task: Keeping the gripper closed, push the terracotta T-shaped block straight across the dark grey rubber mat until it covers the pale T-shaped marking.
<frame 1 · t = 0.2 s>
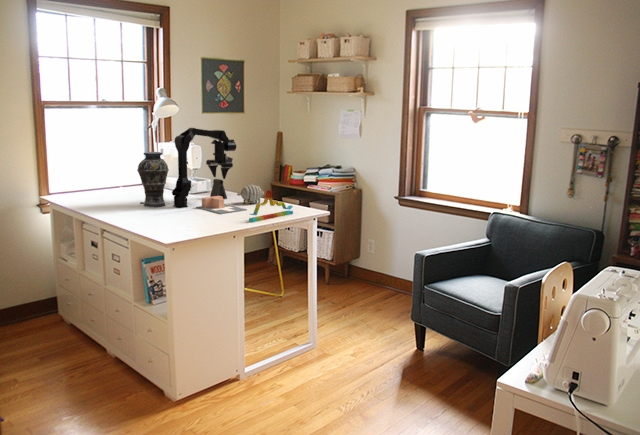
hand: (219, 178, 355), 14 cm above the table, tool pointing down, fingers open, 9 cm apart
t block: (216, 206, 339), resting on mat
mat: (221, 208, 336), on the table
multicoloured triangular frame: (271, 218, 317), on the table
toy sheep: (250, 203, 355), on the table
vase: (154, 205, 342), on the table
phone stand: (218, 199, 367), on the table
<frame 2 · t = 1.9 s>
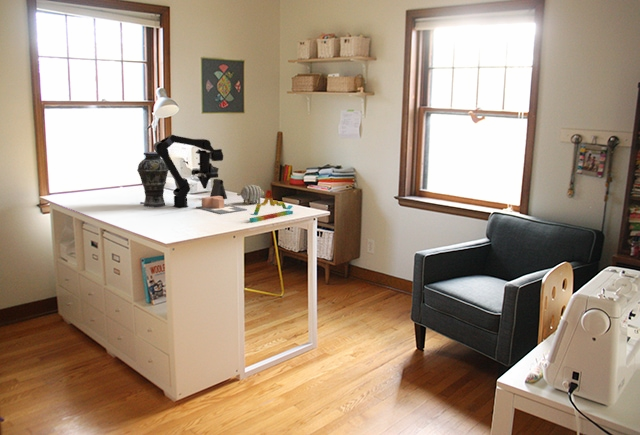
hand: (204, 188, 345), 10 cm above the table, tool pointing down, fingers closed
nothing on the table moved.
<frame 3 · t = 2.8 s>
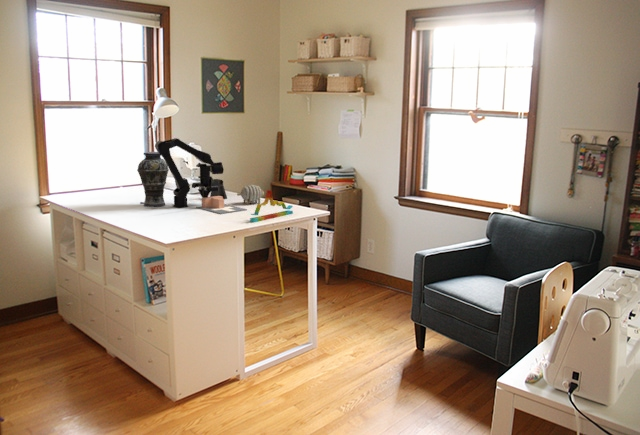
hand: (205, 201, 346), 2 cm above the table, tool pointing down, fingers closed
nothing on the table moved.
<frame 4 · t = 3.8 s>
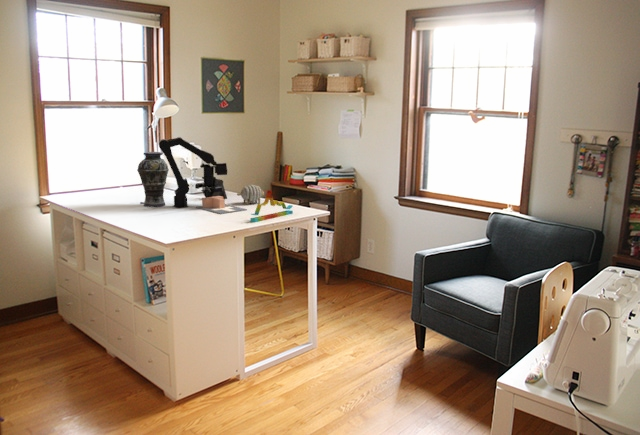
hand: (209, 202, 344), 2 cm above the table, tool pointing down, fingers closed
t block: (216, 206, 339), point 1 cm above the table, touching gripper
everything else where it was.
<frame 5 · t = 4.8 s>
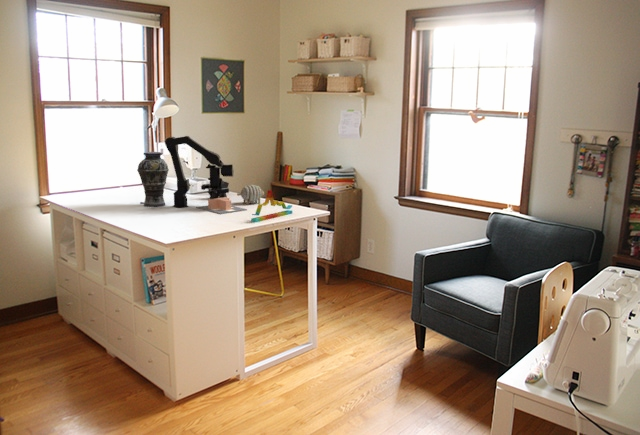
hand: (215, 203, 340), 2 cm above the table, tool pointing down, fingers closed
t block: (222, 208, 335), point 1 cm above the table, touching gripper
everything else where it was.
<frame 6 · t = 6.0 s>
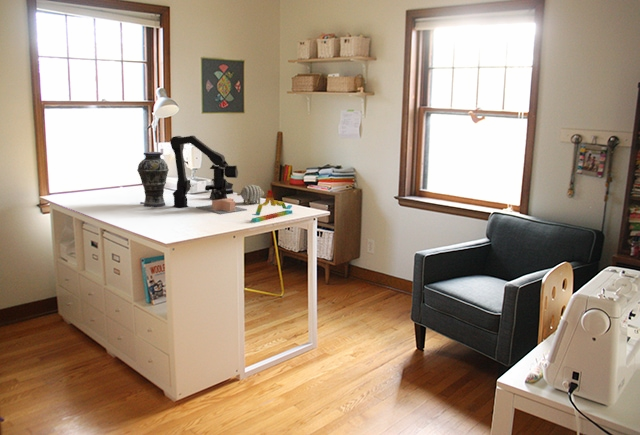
hand: (219, 204, 337), 2 cm above the table, tool pointing down, fingers closed
t block: (226, 209, 332), resting on mat, touching gripper
everything else where it was.
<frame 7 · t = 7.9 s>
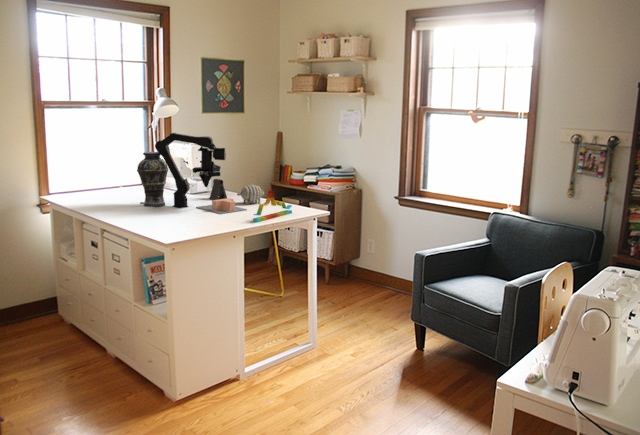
hand: (206, 187, 338), 12 cm above the table, tool pointing down, fingers closed
t block: (226, 209, 332), resting on mat
vase: (154, 205, 342), on the table, touching arm
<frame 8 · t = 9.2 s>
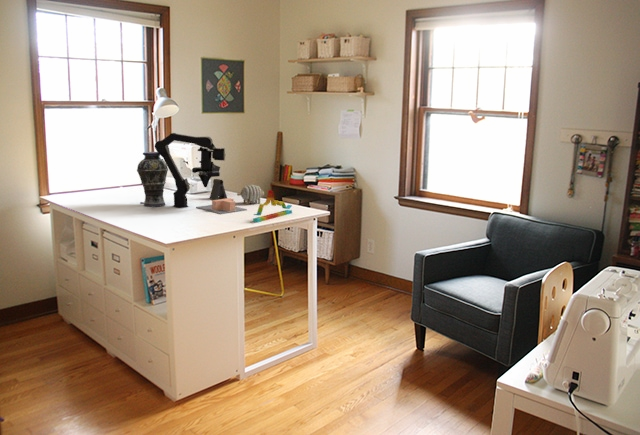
hand: (205, 187, 337), 11 cm above the table, tool pointing down, fingers closed
nothing on the table moved.
at the end: t block 0.5 cm from the target spot on the mat, point 0.5 cm above the mat's base; t block tilted 0°; t block moved 10.0 cm from its start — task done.
